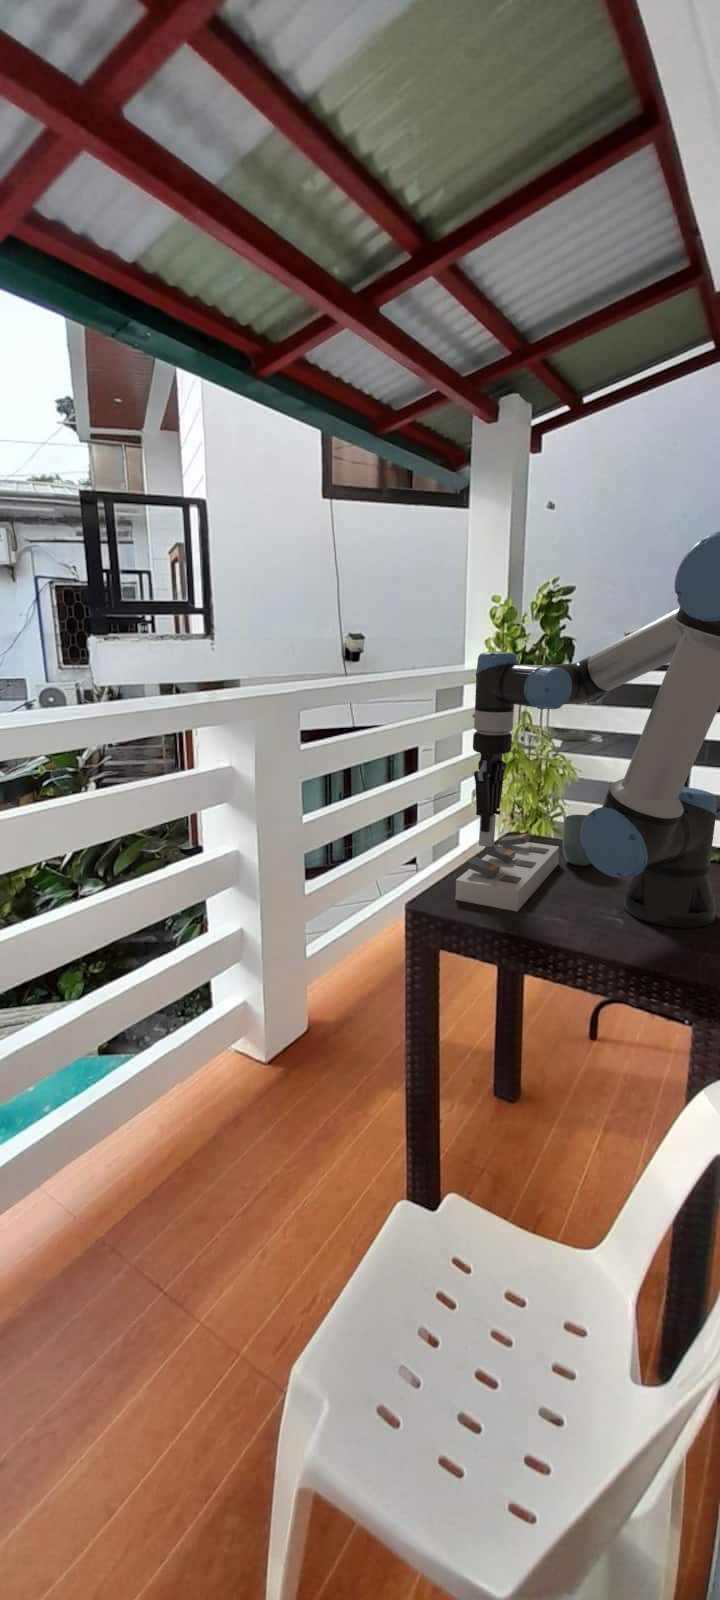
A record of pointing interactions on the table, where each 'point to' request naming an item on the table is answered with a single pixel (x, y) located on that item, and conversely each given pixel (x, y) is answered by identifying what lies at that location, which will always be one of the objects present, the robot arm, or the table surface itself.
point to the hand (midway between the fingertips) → (486, 845)
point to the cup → (574, 841)
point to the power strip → (509, 877)
